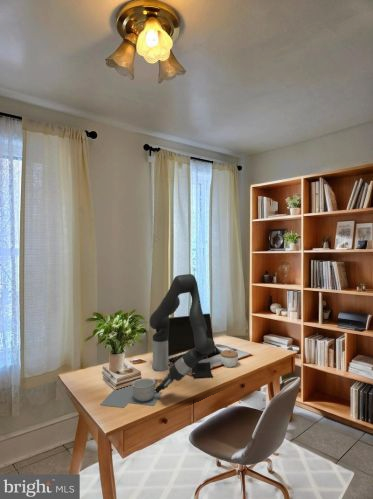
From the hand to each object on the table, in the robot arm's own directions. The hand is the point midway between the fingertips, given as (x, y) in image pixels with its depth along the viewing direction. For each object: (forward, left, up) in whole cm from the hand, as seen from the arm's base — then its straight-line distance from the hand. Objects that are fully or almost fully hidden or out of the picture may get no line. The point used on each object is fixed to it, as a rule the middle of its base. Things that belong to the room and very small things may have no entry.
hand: (156, 391), depth 153 cm
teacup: (0, -5, -4) cm, 6 cm away
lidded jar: (-49, +31, -4) cm, 58 cm away
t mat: (0, -11, -4) cm, 12 cm away
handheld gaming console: (-32, +17, -4) cm, 36 cm away
